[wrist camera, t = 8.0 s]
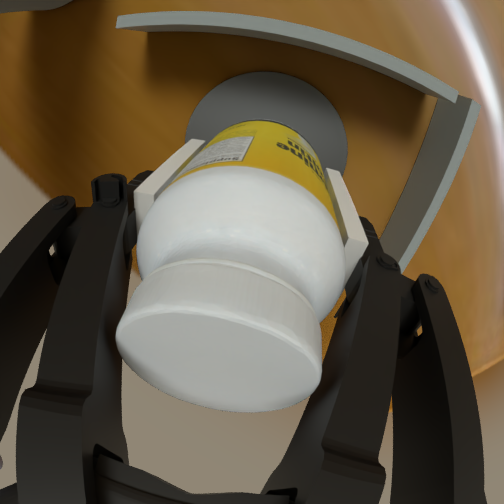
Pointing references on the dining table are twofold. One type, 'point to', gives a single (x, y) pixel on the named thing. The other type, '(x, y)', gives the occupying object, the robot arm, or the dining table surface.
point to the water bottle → (30, 5)
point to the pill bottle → (237, 274)
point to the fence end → (430, 177)
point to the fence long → (290, 42)
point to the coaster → (273, 112)
